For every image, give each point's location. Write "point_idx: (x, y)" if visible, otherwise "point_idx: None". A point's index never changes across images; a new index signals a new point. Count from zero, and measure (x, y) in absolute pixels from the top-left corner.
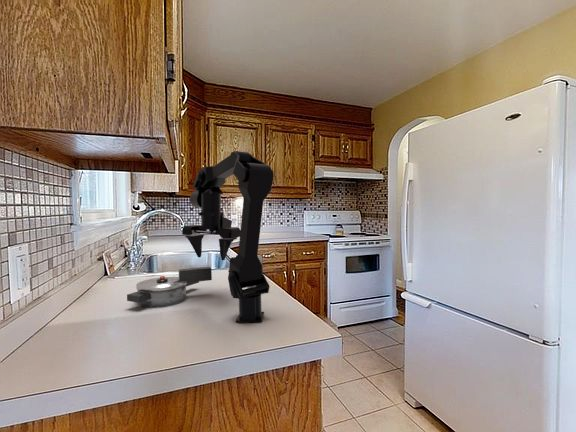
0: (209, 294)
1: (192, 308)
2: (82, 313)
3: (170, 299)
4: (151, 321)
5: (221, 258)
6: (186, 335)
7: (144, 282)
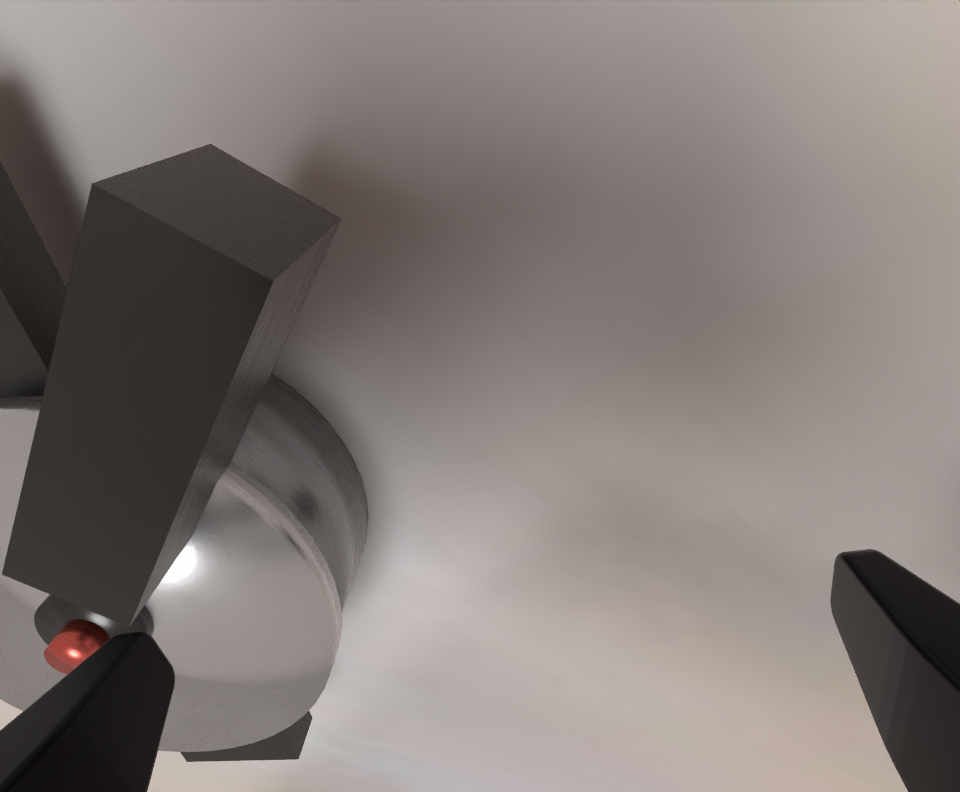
0: (337, 167)
1: (564, 512)
2: None
3: (353, 572)
4: (539, 712)
5: (859, 662)
6: (866, 744)
7: (12, 673)
